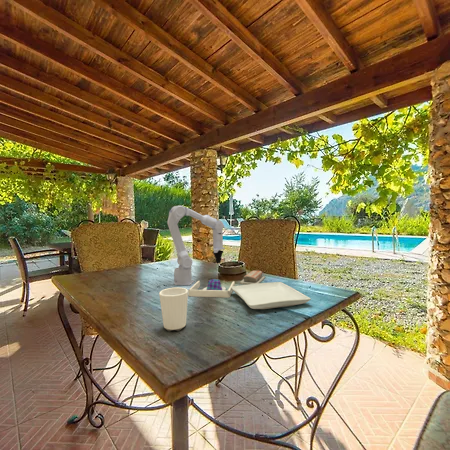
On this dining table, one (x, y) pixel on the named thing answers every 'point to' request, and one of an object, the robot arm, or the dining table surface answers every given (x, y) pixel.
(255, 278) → the packaged product
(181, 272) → the robot arm
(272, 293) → the square plate
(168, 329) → the cup
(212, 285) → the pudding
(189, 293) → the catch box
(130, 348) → the dining table surface
